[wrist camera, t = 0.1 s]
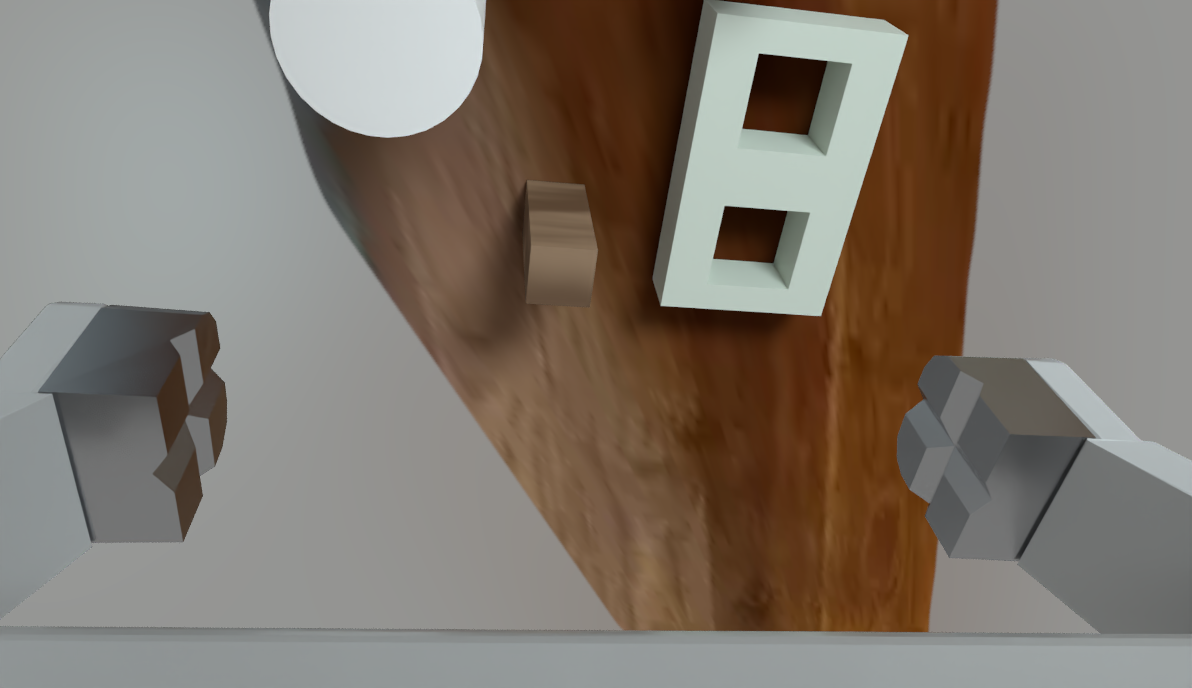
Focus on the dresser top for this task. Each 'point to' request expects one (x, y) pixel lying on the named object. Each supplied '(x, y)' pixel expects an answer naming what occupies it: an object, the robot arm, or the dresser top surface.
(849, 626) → the dresser top surface
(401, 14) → the cylindrical container
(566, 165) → the dresser top surface
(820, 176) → the socket board
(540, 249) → the wood grain block
